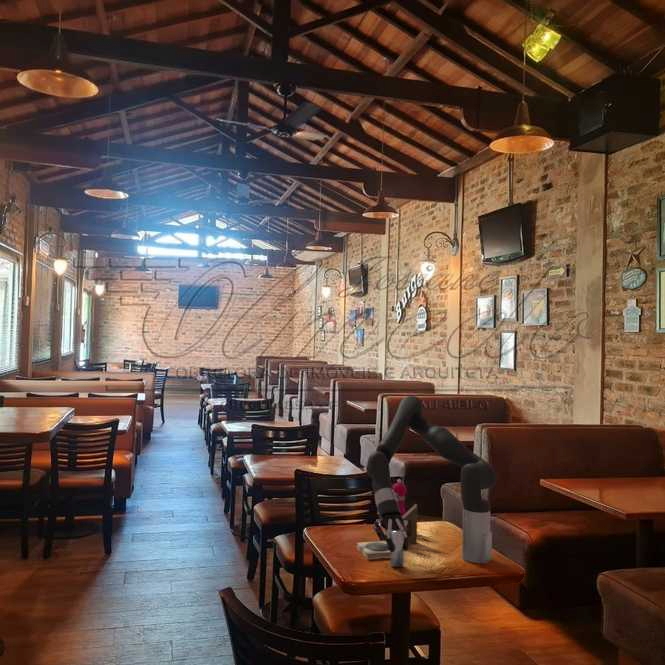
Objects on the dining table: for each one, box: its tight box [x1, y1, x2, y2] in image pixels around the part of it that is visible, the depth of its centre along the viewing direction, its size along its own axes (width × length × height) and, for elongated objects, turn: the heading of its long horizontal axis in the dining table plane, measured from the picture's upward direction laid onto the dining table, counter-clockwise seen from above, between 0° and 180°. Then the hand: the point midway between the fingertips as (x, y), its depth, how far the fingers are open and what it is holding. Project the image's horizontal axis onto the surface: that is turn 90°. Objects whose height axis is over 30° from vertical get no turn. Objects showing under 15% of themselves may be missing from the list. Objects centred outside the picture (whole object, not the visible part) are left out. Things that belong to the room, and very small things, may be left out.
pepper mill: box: [392, 478, 408, 531], centre depth 239 cm, size 7×7×20 cm
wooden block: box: [390, 493, 418, 545], centre depth 223 cm, size 4×11×18 cm, turn 89°
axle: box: [389, 529, 405, 568], centre depth 197 cm, size 4×4×11 cm
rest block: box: [356, 540, 391, 561], centre depth 210 cm, size 12×12×2 cm
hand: (399, 550), depth 195 cm, fingers closed on axle, 4 cm apart
